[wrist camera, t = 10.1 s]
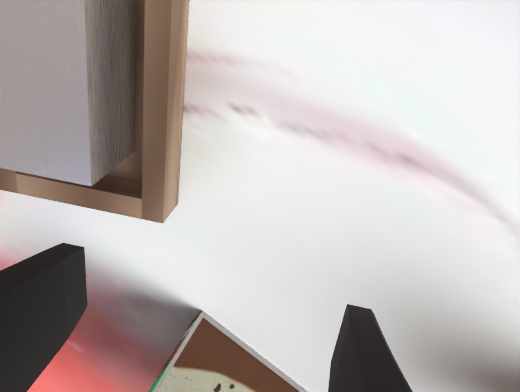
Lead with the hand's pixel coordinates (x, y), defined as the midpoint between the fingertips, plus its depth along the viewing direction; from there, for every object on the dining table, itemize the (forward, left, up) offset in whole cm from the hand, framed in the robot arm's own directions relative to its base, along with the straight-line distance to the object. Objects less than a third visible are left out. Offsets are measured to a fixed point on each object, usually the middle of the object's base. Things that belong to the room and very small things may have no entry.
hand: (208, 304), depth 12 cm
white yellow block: (-8, +4, -9) cm, 13 cm away
